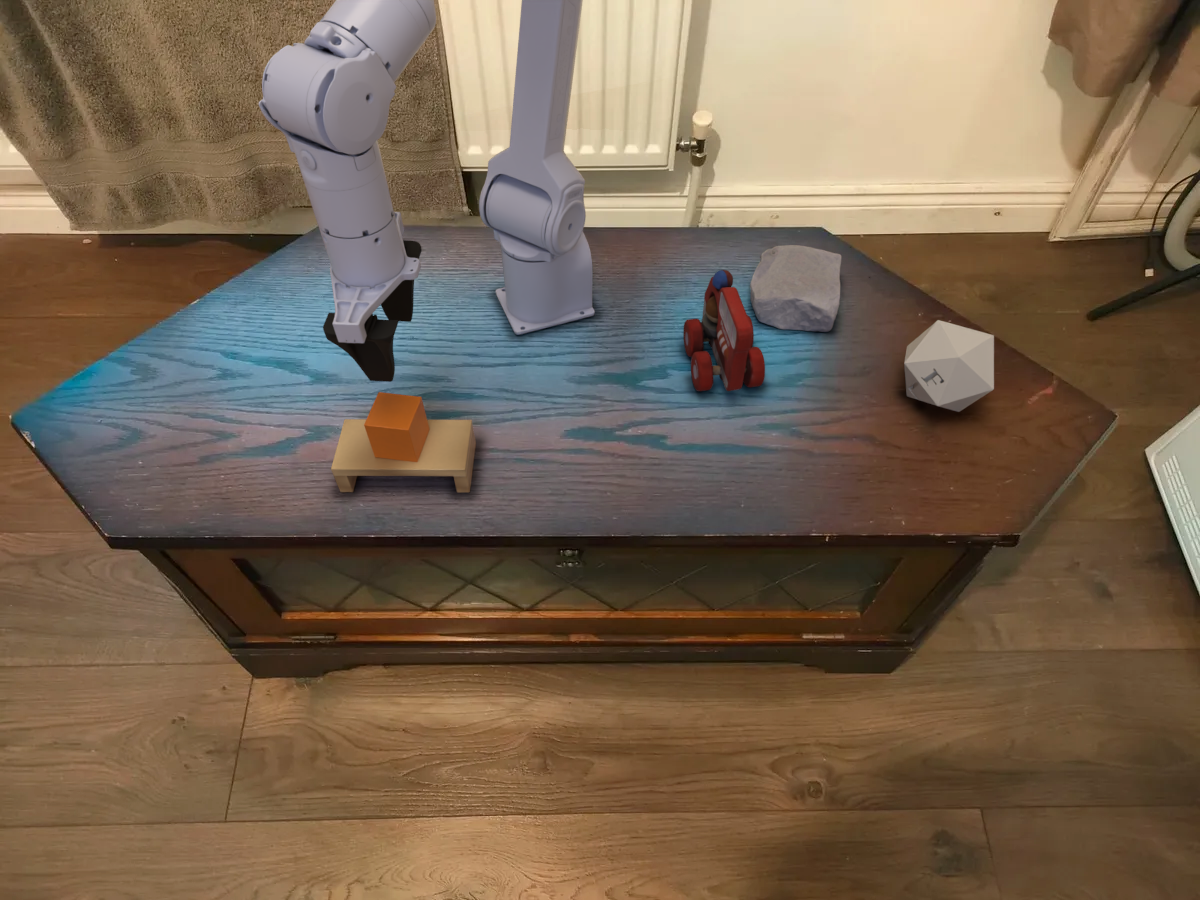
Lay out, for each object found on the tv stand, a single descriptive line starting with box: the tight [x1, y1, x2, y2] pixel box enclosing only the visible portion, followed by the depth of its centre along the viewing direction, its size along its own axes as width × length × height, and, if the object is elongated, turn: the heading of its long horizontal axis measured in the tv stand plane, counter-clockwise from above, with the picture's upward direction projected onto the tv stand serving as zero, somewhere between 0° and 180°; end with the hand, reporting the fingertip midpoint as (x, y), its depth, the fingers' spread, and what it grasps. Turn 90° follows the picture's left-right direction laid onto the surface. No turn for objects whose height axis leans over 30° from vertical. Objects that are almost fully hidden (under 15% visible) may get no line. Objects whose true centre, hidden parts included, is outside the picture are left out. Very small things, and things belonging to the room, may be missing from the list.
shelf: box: [330, 418, 477, 493], centre depth 72 cm, size 12×6×4 cm, turn 90°
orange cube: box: [364, 391, 429, 462], centre depth 69 cm, size 4×4×4 cm
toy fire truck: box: [683, 269, 766, 392], centre depth 79 cm, size 7×12×10 cm, turn 6°
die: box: [903, 319, 995, 413], centre depth 78 cm, size 8×9×10 cm
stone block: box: [749, 244, 842, 333], centre depth 89 cm, size 12×5×10 cm
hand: (391, 347), depth 69 cm, fingers open, 7 cm apart
